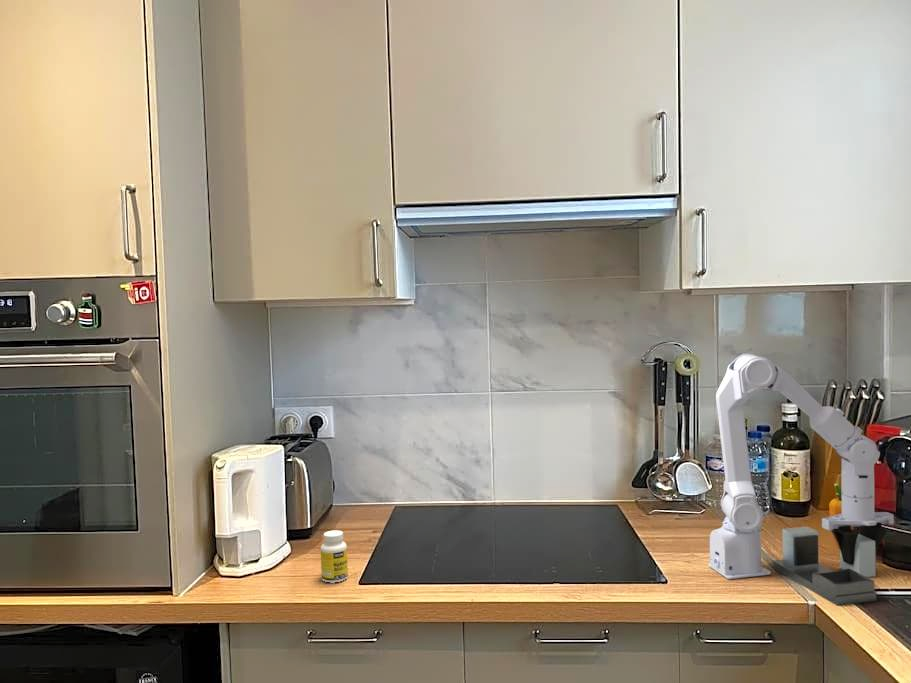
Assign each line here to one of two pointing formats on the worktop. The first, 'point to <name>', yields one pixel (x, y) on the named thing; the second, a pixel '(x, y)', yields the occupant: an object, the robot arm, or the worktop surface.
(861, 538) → the pale green upright block
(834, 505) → the carrot
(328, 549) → the supplement bottle
